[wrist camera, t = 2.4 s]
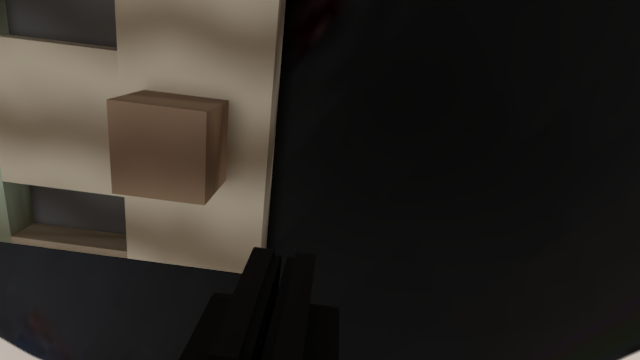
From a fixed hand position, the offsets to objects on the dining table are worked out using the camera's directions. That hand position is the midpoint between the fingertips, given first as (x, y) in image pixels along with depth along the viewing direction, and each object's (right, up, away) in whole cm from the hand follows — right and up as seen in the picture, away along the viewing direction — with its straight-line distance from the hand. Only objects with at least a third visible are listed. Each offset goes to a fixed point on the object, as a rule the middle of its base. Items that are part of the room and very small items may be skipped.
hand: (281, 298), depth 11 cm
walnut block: (-7, +6, +14) cm, 16 cm away
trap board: (-15, +8, +16) cm, 23 cm away
